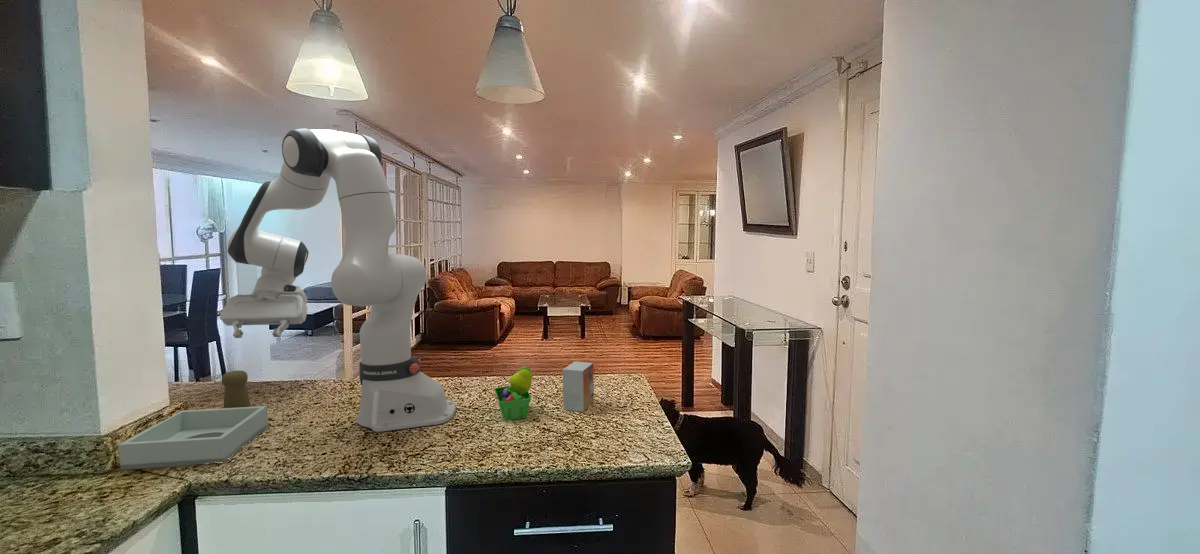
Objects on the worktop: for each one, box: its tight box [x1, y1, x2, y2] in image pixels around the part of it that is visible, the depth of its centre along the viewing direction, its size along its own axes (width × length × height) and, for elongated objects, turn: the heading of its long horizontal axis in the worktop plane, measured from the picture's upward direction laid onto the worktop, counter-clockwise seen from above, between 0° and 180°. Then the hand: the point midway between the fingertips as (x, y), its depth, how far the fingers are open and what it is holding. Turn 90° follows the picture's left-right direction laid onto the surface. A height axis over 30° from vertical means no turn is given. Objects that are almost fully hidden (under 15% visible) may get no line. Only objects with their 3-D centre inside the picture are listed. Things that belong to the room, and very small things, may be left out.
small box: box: [562, 361, 595, 413], centre depth 130 cm, size 8×6×10 cm
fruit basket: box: [494, 366, 533, 421], centre depth 126 cm, size 11×9×11 cm
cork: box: [221, 370, 252, 408], centre depth 125 cm, size 6×6×11 cm
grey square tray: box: [117, 405, 270, 471], centre depth 108 cm, size 18×18×5 cm
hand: (256, 336), depth 135 cm, fingers open, 8 cm apart
